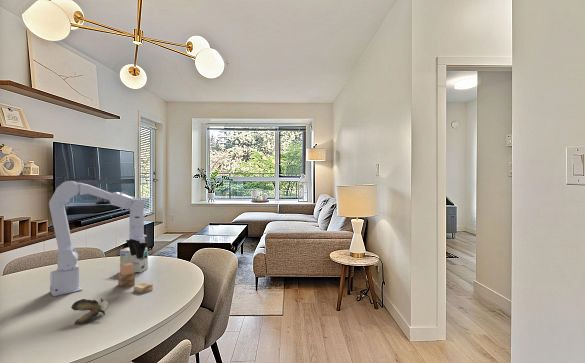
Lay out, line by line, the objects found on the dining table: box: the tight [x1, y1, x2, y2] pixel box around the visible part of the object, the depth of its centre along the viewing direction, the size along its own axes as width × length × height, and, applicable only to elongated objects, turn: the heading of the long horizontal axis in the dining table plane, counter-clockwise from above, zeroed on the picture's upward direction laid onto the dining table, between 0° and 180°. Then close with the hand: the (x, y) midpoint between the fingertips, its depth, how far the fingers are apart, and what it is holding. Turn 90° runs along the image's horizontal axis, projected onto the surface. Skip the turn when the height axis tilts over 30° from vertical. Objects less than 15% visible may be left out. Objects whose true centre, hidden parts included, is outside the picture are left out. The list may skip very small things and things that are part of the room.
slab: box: [133, 281, 154, 294], centre depth 125 cm, size 5×5×2 cm
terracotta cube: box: [119, 262, 134, 275], centre depth 131 cm, size 4×4×4 cm
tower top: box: [117, 272, 136, 282], centre depth 131 cm, size 5×5×2 cm
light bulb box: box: [119, 246, 149, 273], centre depth 151 cm, size 11×7×11 cm, turn 84°
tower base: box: [117, 279, 136, 288], centre depth 131 cm, size 5×5×2 cm
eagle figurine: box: [70, 297, 109, 326], centre depth 100 cm, size 8×7×9 cm
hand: (136, 256), depth 137 cm, fingers open, 7 cm apart
